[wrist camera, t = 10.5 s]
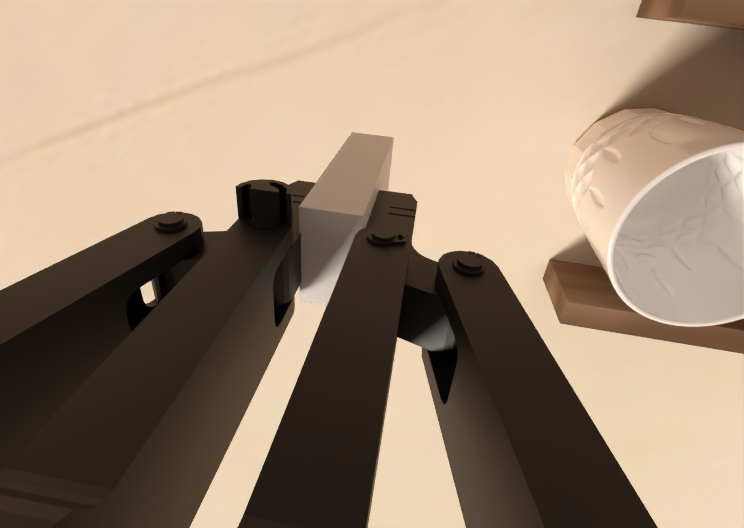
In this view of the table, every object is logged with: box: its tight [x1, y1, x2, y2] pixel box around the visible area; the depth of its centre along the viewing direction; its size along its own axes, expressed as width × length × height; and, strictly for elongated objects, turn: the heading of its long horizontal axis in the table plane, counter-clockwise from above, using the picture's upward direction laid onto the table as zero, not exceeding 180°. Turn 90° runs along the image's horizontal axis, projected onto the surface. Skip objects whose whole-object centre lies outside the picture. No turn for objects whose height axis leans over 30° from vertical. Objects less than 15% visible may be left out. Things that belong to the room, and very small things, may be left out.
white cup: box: [564, 108, 744, 327], centre depth 21 cm, size 8×8×10 cm
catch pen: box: [543, 0, 744, 354], centre depth 23 cm, size 17×14×5 cm
